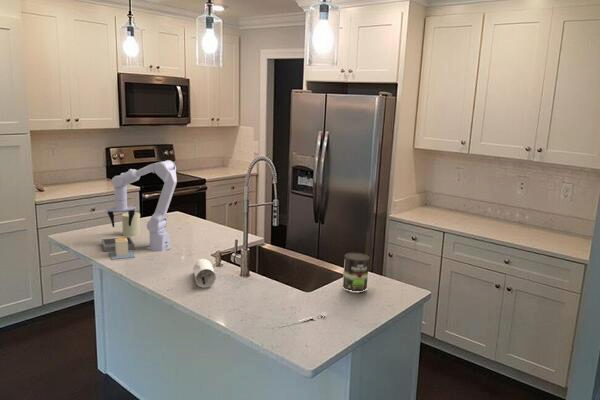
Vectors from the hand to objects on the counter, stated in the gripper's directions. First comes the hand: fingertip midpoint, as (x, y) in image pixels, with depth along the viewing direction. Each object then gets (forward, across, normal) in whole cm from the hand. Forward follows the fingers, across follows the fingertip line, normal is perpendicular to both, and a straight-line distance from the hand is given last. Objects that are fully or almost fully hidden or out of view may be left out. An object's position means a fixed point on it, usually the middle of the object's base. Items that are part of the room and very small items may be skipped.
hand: (121, 226), depth 237 cm
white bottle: (+10, -23, +60) cm, 65 cm away
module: (+8, +3, +19) cm, 21 cm away
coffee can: (+10, -79, +90) cm, 121 cm away
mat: (+9, +3, +19) cm, 21 cm away
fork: (+10, -45, +108) cm, 118 cm away
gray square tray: (+9, +3, +5) cm, 11 cm away
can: (+10, -7, -14) cm, 18 cm away
